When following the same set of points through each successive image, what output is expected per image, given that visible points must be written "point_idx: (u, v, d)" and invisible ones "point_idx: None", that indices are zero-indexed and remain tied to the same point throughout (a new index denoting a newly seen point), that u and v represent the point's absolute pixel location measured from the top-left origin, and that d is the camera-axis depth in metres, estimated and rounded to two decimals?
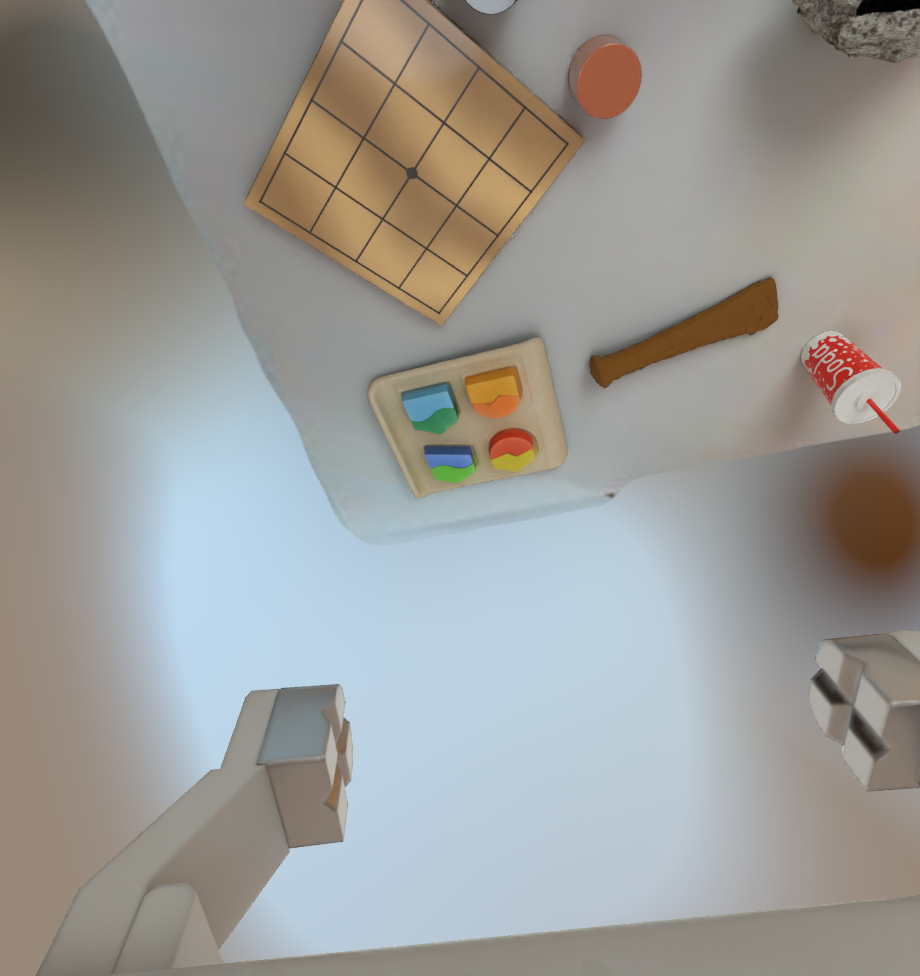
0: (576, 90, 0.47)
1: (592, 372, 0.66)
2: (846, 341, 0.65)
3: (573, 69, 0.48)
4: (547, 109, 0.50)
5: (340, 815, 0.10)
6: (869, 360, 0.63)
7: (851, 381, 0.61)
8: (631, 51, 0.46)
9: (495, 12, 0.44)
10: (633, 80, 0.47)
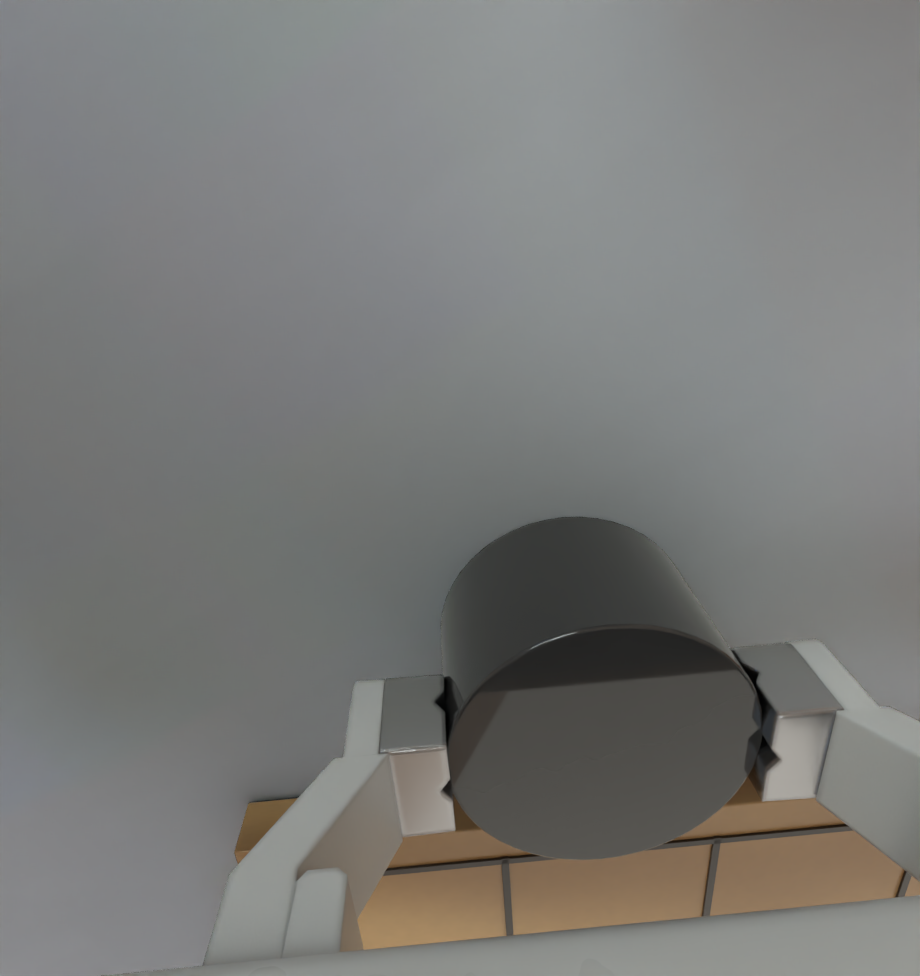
0: None
1: None
2: None
3: None
4: None
5: (453, 804, 0.10)
6: None
7: None
8: None
9: (700, 821, 0.10)
10: None
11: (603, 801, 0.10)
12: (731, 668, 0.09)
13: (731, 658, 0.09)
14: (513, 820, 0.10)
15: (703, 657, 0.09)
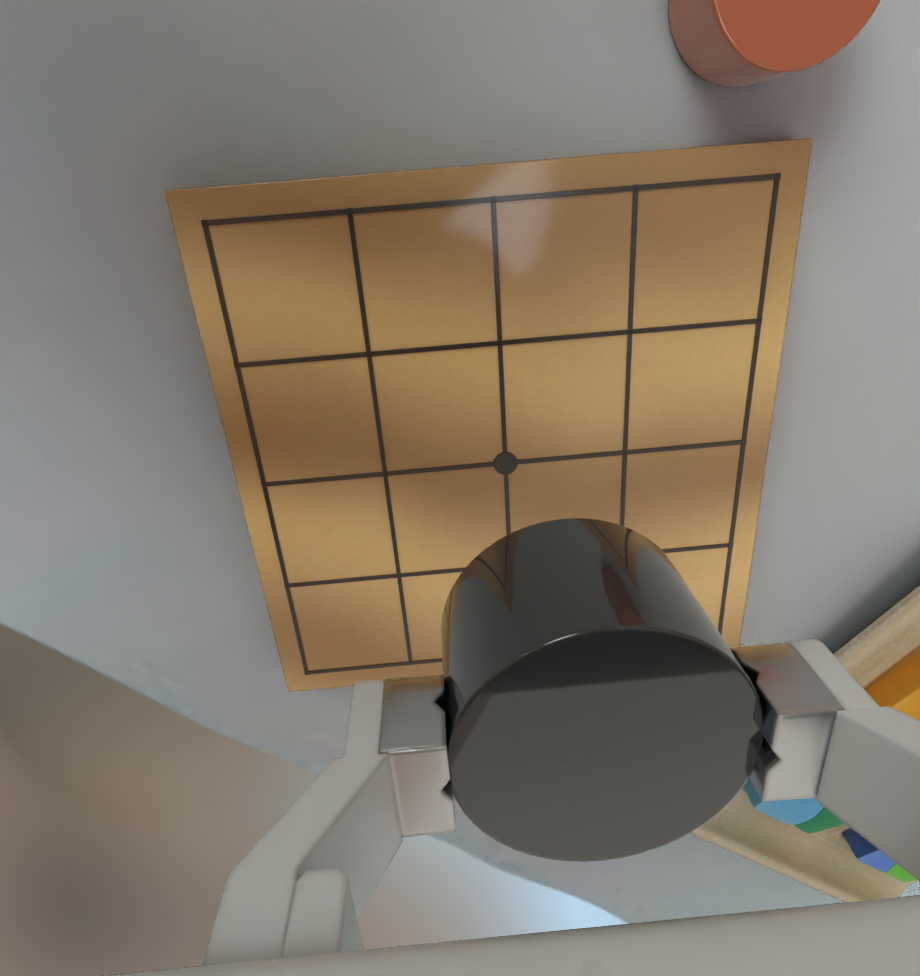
0: (732, 50, 0.17)
1: None
2: None
3: (689, 29, 0.18)
4: (686, 152, 0.20)
5: (453, 804, 0.10)
6: None
7: None
8: None
9: (701, 823, 0.10)
10: None
11: (603, 802, 0.10)
12: (732, 669, 0.09)
13: (732, 659, 0.09)
14: (514, 822, 0.10)
15: (703, 659, 0.09)
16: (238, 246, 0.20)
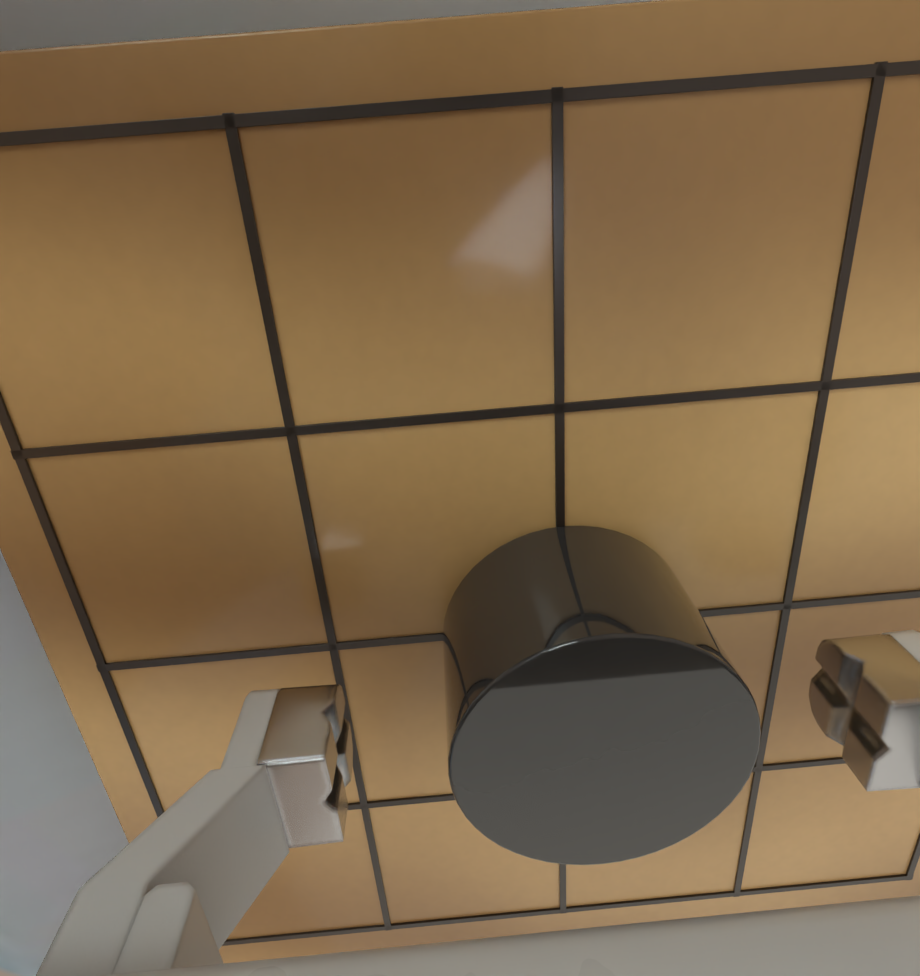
0: None
1: None
2: None
3: None
4: None
5: (340, 815, 0.10)
6: None
7: None
8: None
9: (699, 827, 0.10)
10: None
11: (603, 807, 0.10)
12: (729, 677, 0.09)
13: (729, 667, 0.09)
14: (514, 825, 0.10)
15: (701, 667, 0.09)
16: None
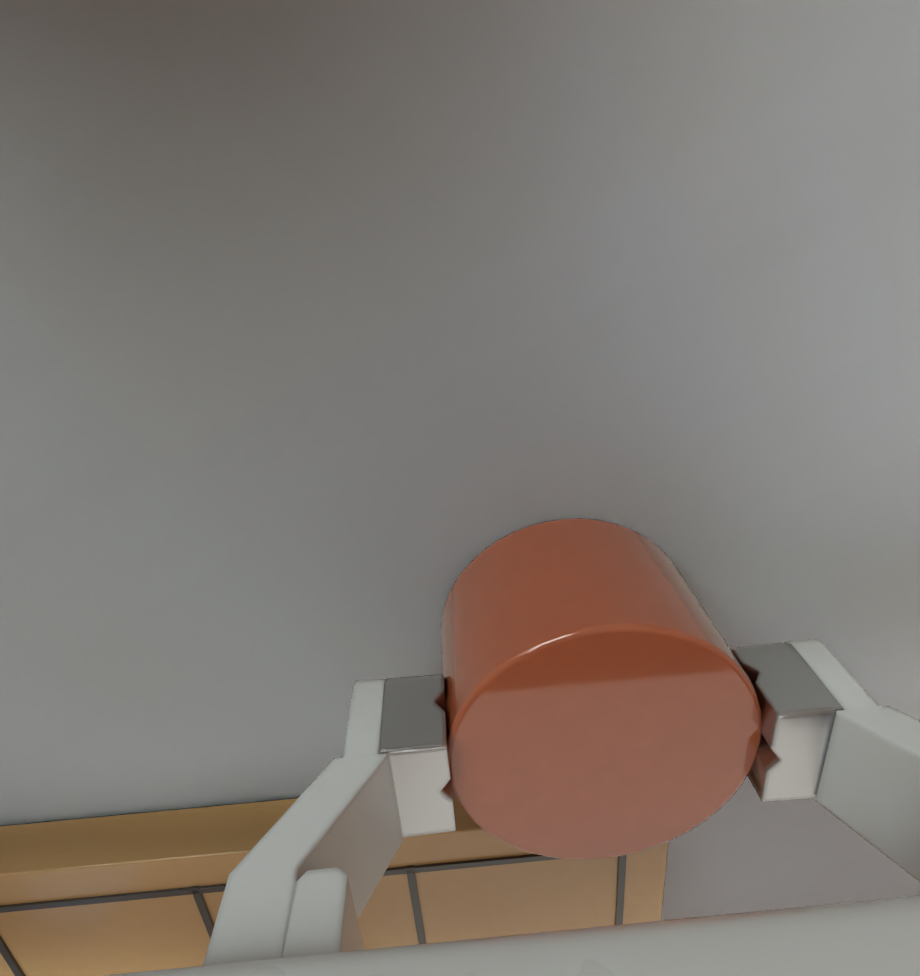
0: None
1: None
2: None
3: None
4: (480, 833, 0.13)
5: (453, 804, 0.10)
6: None
7: None
8: (603, 632, 0.09)
9: None
10: (702, 689, 0.09)
11: None
12: None
13: None
14: None
15: None
16: None
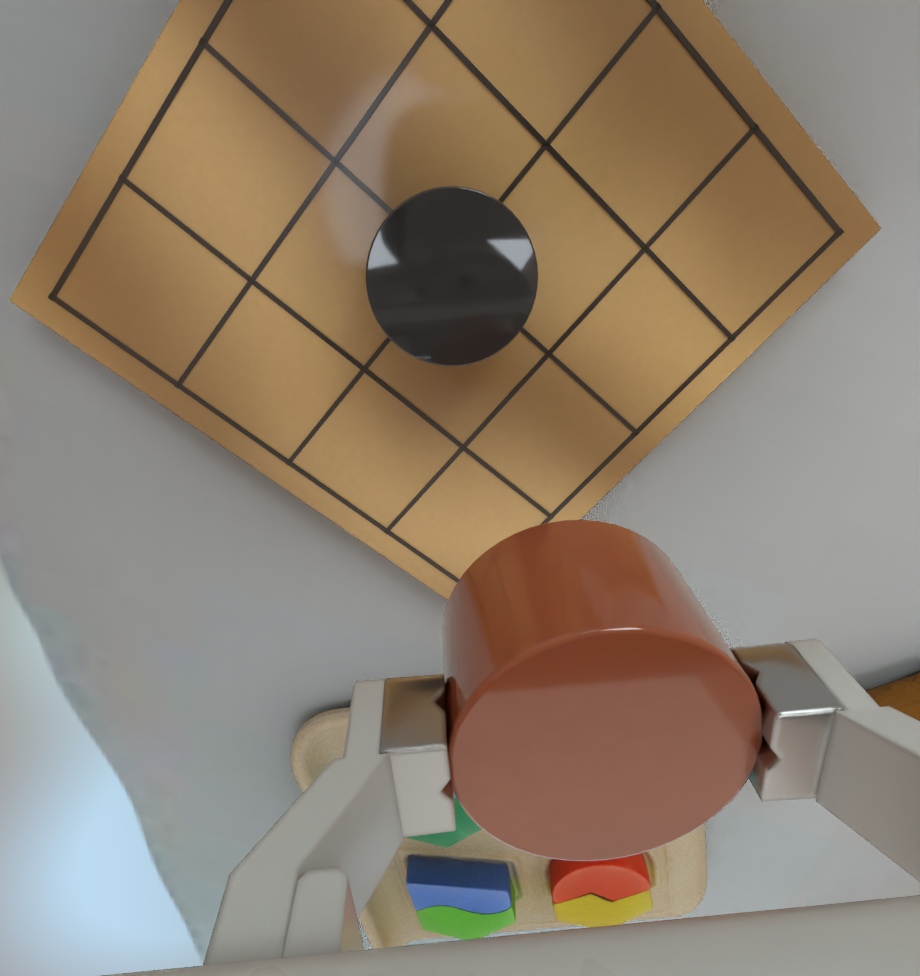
0: None
1: None
2: None
3: None
4: (808, 140, 0.20)
5: (453, 804, 0.10)
6: None
7: None
8: (605, 634, 0.09)
9: (457, 363, 0.19)
10: (704, 691, 0.09)
11: (429, 308, 0.18)
12: (534, 281, 0.18)
13: (537, 278, 0.18)
14: (384, 281, 0.18)
15: (529, 265, 0.18)
16: None
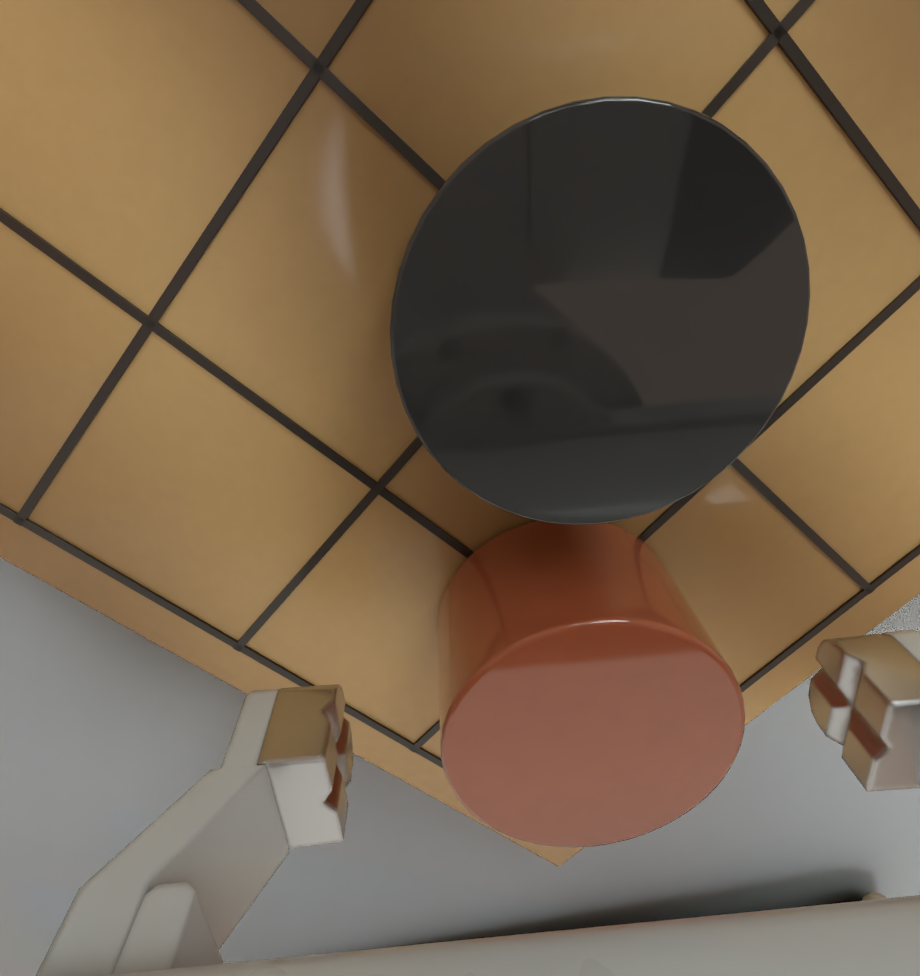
0: None
1: None
2: None
3: None
4: None
5: (340, 815, 0.10)
6: None
7: None
8: (591, 626, 0.09)
9: (594, 519, 0.08)
10: (687, 681, 0.10)
11: (541, 403, 0.08)
12: (798, 340, 0.07)
13: (804, 332, 0.07)
14: (435, 341, 0.07)
15: (791, 301, 0.07)
16: None
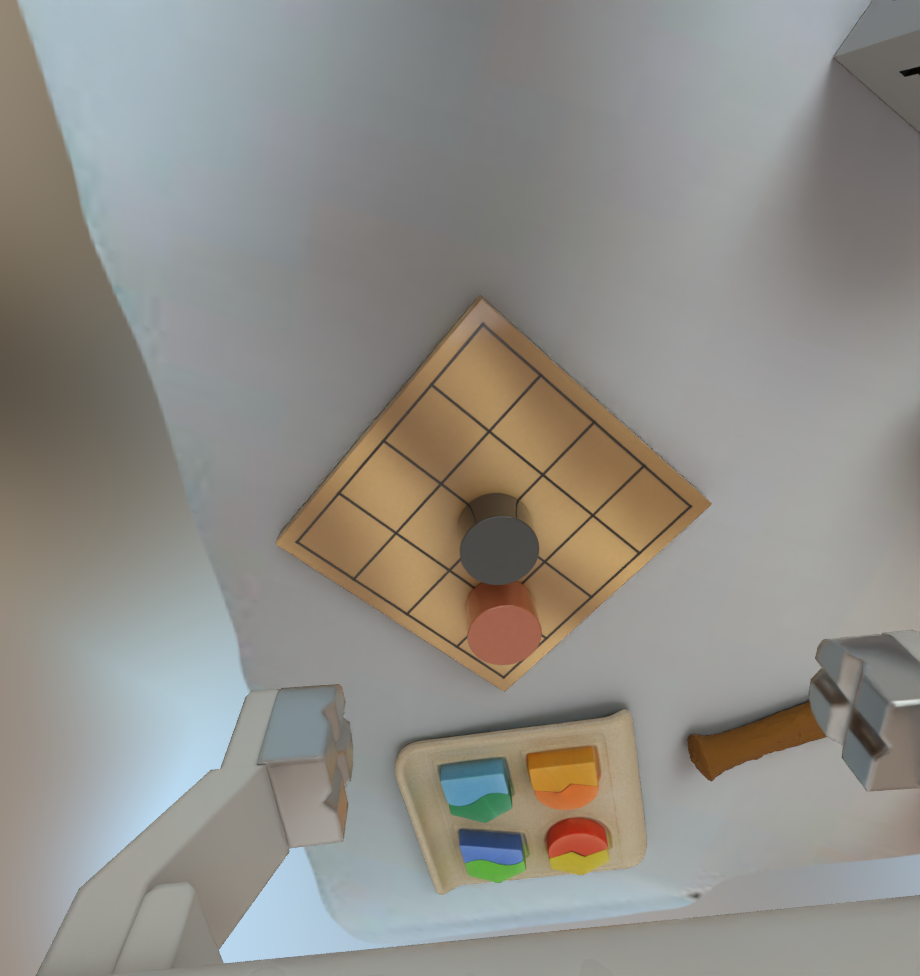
0: None
1: (693, 758, 0.50)
2: None
3: None
4: (670, 469, 0.40)
5: (340, 815, 0.10)
6: None
7: None
8: (502, 606, 0.40)
9: (500, 584, 0.39)
10: (525, 619, 0.41)
11: (488, 562, 0.39)
12: (537, 551, 0.39)
13: None
14: (468, 552, 0.38)
15: (535, 544, 0.38)
16: (485, 344, 0.36)
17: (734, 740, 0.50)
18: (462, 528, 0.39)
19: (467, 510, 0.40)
